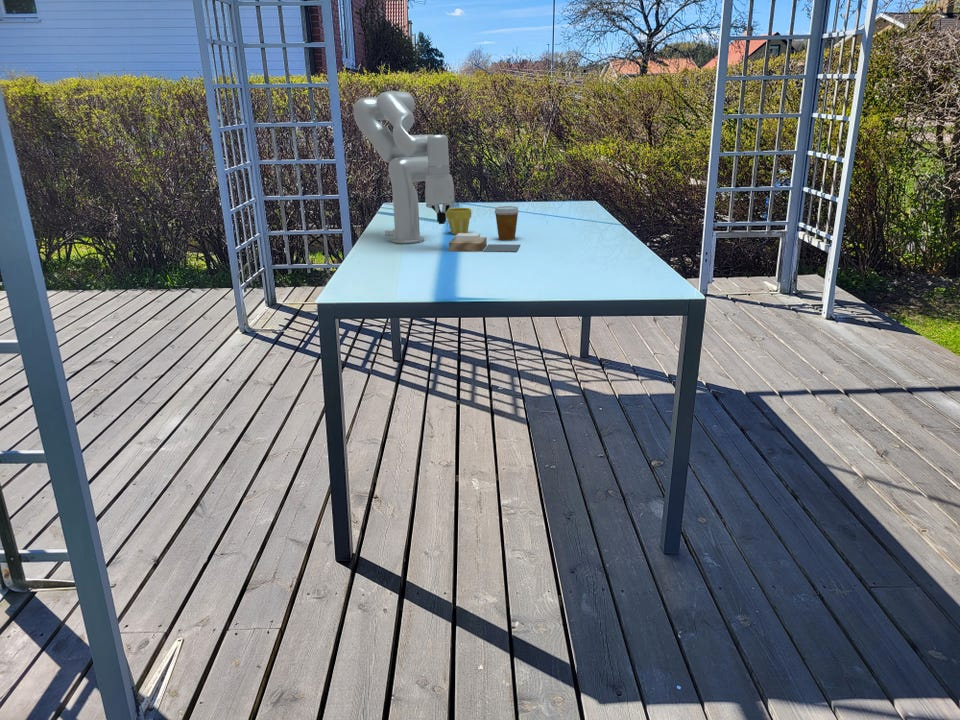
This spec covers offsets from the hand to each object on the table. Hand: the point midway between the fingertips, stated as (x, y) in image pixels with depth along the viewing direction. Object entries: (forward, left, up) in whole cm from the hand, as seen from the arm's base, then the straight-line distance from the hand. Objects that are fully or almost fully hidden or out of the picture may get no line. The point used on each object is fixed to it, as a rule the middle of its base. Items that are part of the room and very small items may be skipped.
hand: (441, 223), depth 256 cm
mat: (+22, +1, -9) cm, 24 cm away
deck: (+9, +1, -9) cm, 13 cm away
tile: (+9, +1, -6) cm, 11 cm away
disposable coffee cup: (+21, +21, -9) cm, 31 cm away
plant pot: (0, +34, -9) cm, 35 cm away
